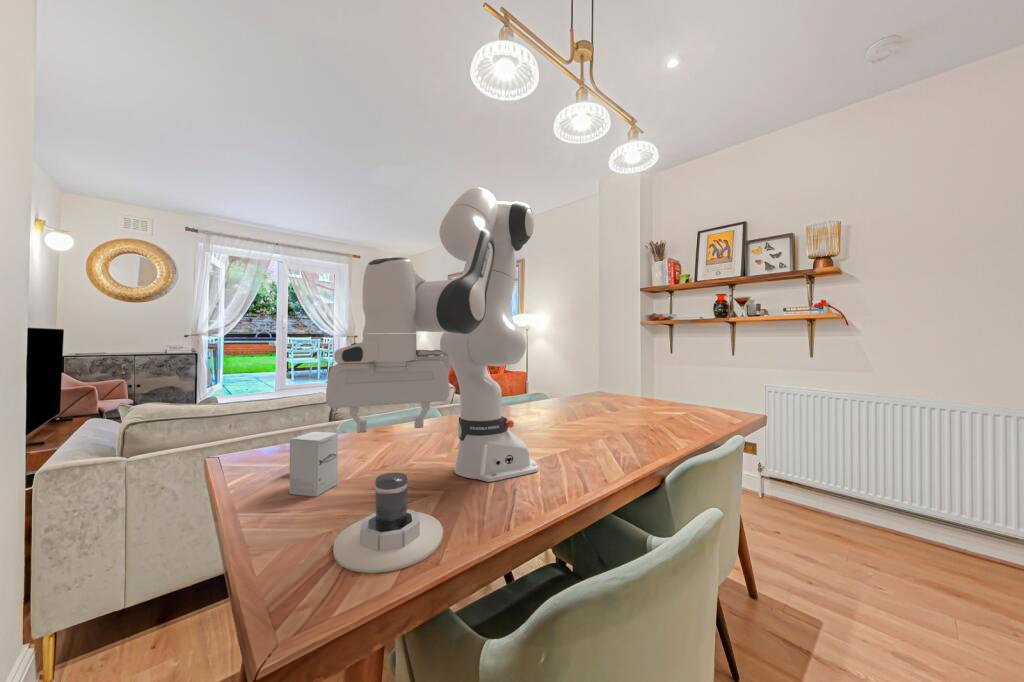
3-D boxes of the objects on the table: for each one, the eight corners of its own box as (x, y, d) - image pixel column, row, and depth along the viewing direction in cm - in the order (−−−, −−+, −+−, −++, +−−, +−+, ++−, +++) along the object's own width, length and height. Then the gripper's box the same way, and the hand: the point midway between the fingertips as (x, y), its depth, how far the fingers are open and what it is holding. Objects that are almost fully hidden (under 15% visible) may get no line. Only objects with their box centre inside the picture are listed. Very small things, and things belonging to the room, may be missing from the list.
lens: (406, 524, 69) (406, 470, 69) (408, 539, 64) (408, 481, 64) (375, 529, 67) (375, 474, 67) (374, 545, 62) (374, 485, 62)
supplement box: (317, 497, 83) (317, 440, 83) (288, 494, 85) (288, 438, 85) (338, 484, 90) (338, 432, 90) (312, 482, 92) (312, 430, 92)
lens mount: (435, 510, 77) (435, 493, 77) (451, 559, 60) (451, 537, 60) (338, 524, 71) (339, 506, 71) (326, 583, 54) (326, 559, 54)
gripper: (447, 348, 72) (447, 420, 72) (328, 350, 65) (329, 430, 65) (453, 350, 66) (453, 428, 66) (323, 352, 59) (324, 440, 59)
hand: (391, 429), depth 66 cm, fingers open, 8 cm apart
